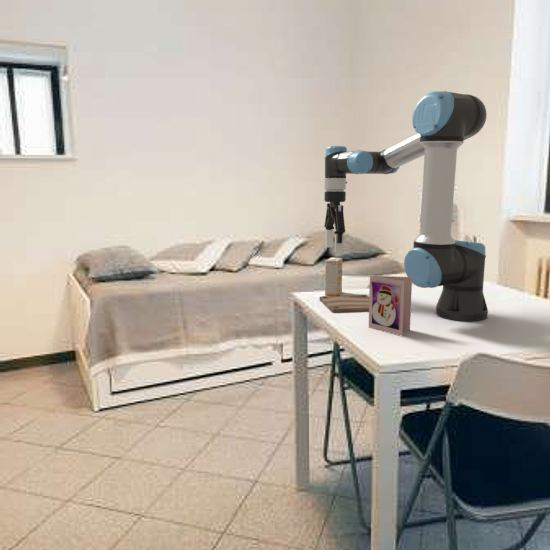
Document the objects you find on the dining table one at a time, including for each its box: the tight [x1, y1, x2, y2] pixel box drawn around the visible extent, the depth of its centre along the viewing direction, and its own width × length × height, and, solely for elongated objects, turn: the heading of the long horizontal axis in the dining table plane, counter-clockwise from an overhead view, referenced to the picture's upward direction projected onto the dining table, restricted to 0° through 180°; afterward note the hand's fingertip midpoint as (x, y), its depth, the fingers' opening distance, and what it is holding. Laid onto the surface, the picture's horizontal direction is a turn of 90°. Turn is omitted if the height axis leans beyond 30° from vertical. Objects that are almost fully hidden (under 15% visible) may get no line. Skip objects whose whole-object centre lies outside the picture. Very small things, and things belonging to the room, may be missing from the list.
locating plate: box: [319, 294, 369, 313], centre depth 177 cm, size 18×17×2 cm
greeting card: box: [368, 275, 413, 336], centre depth 147 cm, size 11×7×15 cm, turn 42°
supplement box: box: [324, 257, 343, 296], centre depth 194 cm, size 8×5×13 cm, turn 161°
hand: (333, 249), depth 192 cm, fingers open, 13 cm apart
